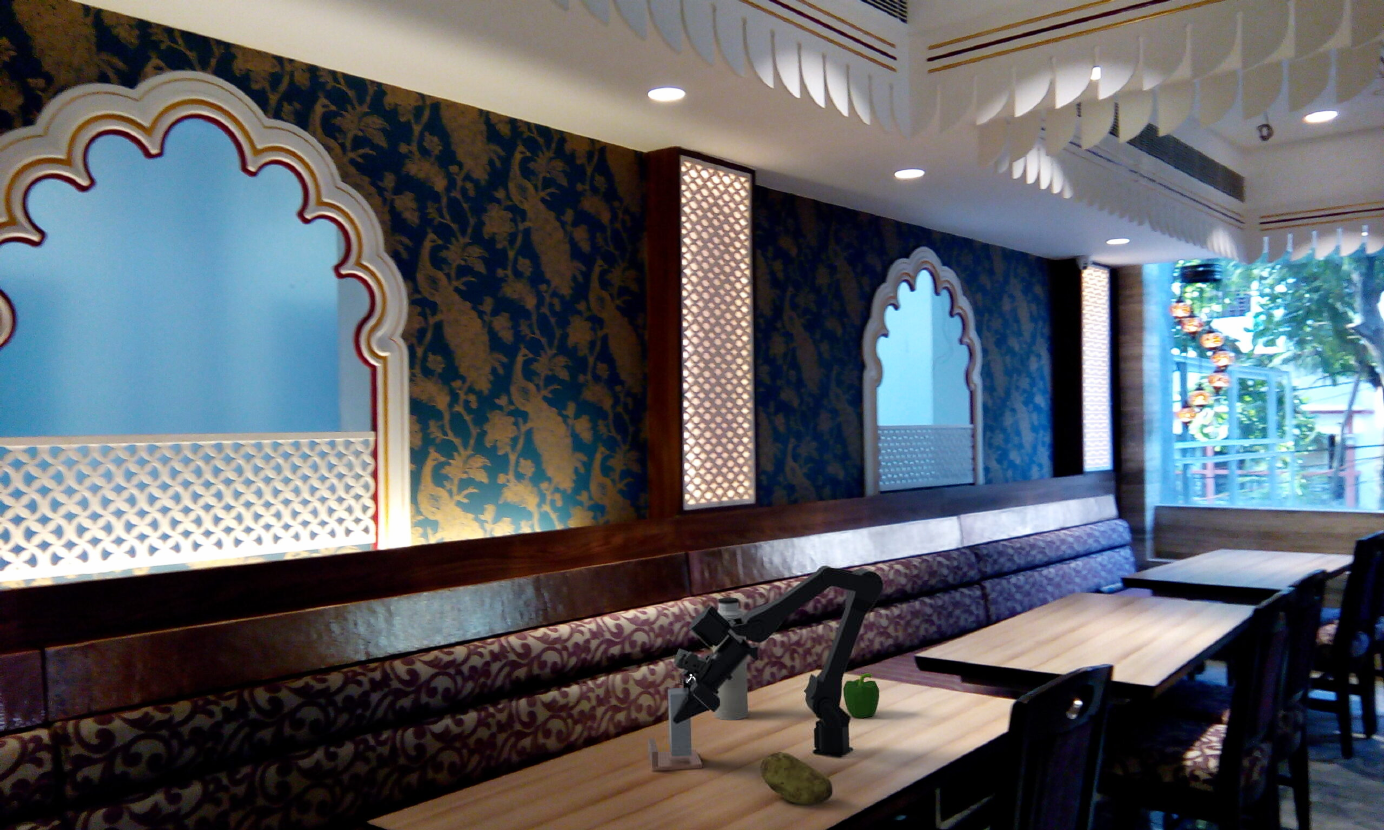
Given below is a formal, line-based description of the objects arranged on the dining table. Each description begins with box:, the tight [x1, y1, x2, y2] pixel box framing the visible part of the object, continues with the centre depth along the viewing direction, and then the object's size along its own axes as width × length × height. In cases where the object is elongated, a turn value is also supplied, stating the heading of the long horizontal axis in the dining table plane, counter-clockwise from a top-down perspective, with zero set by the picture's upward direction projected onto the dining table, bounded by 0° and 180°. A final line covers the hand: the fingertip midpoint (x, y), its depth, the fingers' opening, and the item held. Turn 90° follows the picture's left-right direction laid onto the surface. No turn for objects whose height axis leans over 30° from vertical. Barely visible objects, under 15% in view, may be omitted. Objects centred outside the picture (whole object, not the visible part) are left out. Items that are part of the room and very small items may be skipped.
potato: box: [759, 751, 833, 805], centre depth 184 cm, size 8×13×8 cm, turn 47°
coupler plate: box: [647, 737, 703, 772], centre depth 208 cm, size 10×10×4 cm
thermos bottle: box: [712, 597, 749, 721], centre depth 243 cm, size 8×8×28 cm
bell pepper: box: [842, 672, 880, 719], centre depth 240 cm, size 8×8×10 cm
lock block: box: [667, 687, 692, 757], centre depth 209 cm, size 4×5×12 cm
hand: (673, 718), depth 208 cm, fingers closed on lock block, 5 cm apart
